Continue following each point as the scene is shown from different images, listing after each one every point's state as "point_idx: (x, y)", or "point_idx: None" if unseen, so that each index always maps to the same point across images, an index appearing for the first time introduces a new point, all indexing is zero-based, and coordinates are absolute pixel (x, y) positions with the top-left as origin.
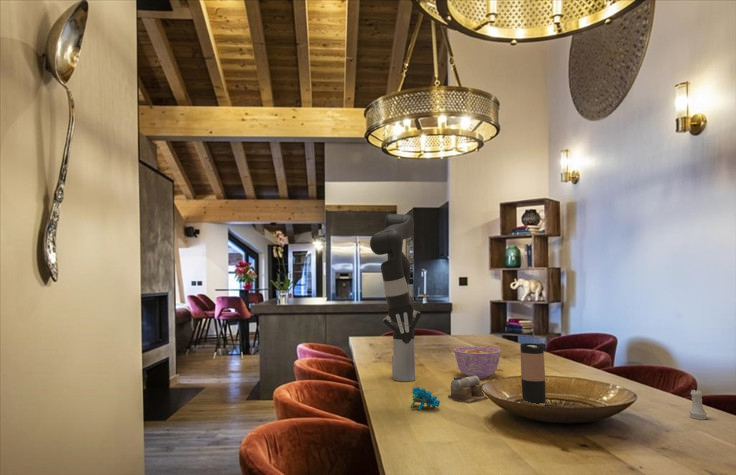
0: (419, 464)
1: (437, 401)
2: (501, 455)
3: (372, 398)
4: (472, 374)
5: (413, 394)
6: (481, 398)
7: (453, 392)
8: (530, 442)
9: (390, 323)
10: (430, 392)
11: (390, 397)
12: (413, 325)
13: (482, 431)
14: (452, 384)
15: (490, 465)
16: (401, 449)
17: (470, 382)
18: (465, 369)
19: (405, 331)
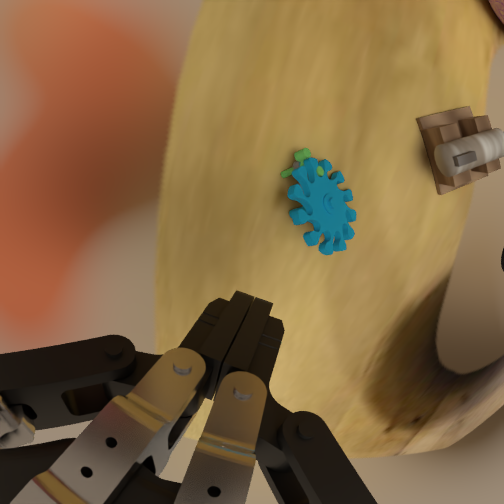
0: (199, 435)
1: (345, 239)
2: None
3: (197, 54)
4: (501, 20)
5: (300, 155)
6: (472, 181)
7: (433, 139)
8: (374, 413)
9: (44, 428)
10: (328, 253)
11: (254, 53)
12: (288, 480)
13: (347, 375)
14: (441, 150)
15: None
16: None
17: (483, 163)
18: (496, 4)
19: (227, 372)
